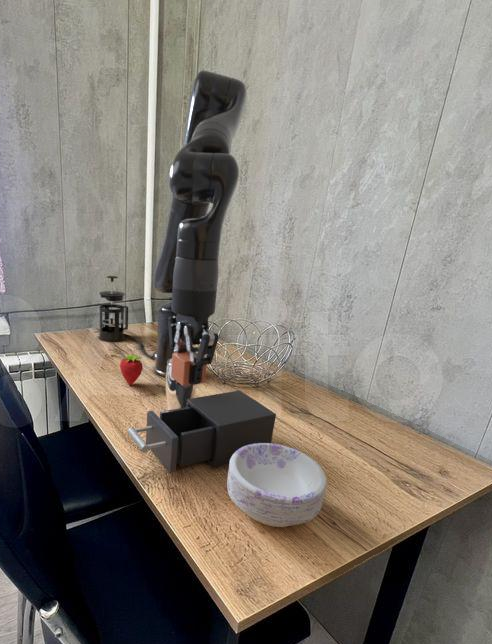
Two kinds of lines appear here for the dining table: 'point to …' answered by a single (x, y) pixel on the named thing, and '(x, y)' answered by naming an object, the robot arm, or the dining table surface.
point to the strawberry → (131, 368)
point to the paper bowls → (276, 484)
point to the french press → (109, 330)
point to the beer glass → (176, 390)
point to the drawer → (177, 437)
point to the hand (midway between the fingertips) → (187, 378)
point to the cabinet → (234, 422)
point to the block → (183, 368)
